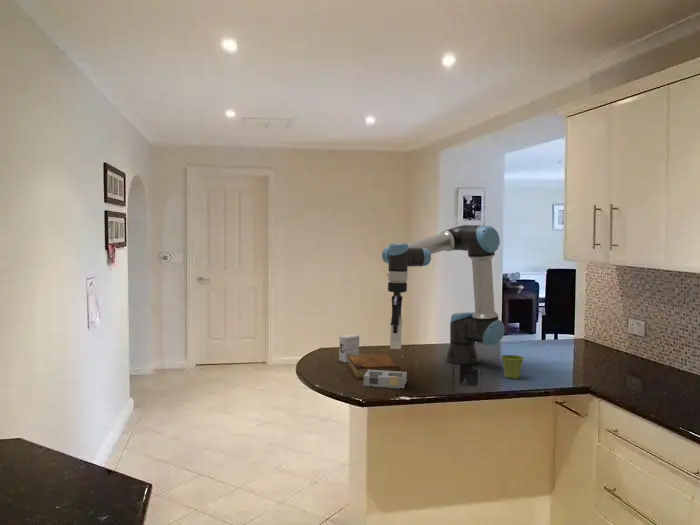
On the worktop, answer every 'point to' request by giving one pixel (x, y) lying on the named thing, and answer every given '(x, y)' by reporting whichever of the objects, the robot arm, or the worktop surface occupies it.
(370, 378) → the socket block
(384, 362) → the diary
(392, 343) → the plug
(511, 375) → the plant pot
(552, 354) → the worktop surface
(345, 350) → the ink box
